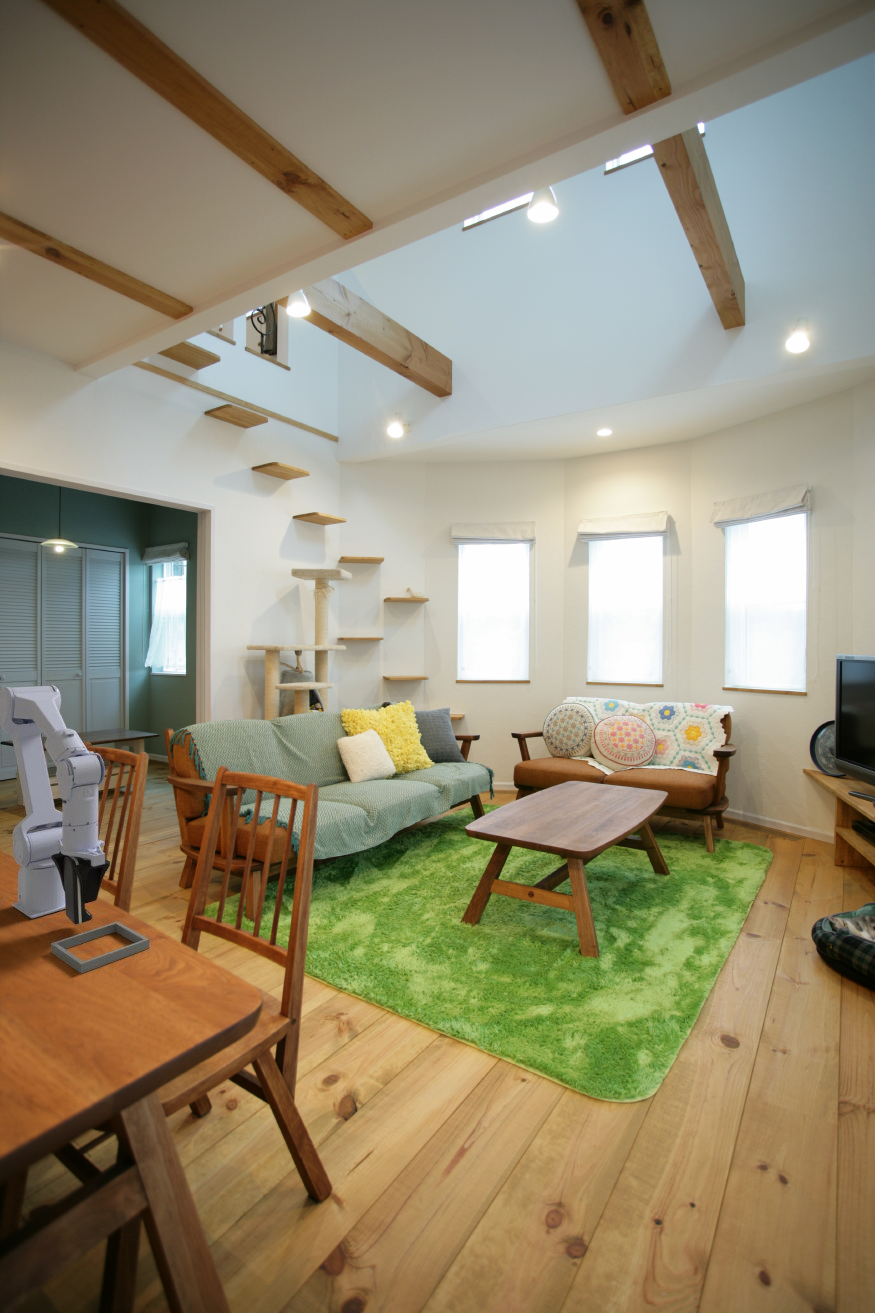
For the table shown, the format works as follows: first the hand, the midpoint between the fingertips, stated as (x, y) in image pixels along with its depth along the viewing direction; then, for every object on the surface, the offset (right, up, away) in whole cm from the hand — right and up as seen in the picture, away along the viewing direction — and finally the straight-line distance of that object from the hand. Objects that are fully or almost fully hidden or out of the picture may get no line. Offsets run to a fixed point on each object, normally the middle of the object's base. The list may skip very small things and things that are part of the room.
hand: (80, 896), depth 119 cm
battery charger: (0, -4, 0) cm, 4 cm away
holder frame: (+8, -6, -8) cm, 13 cm away
